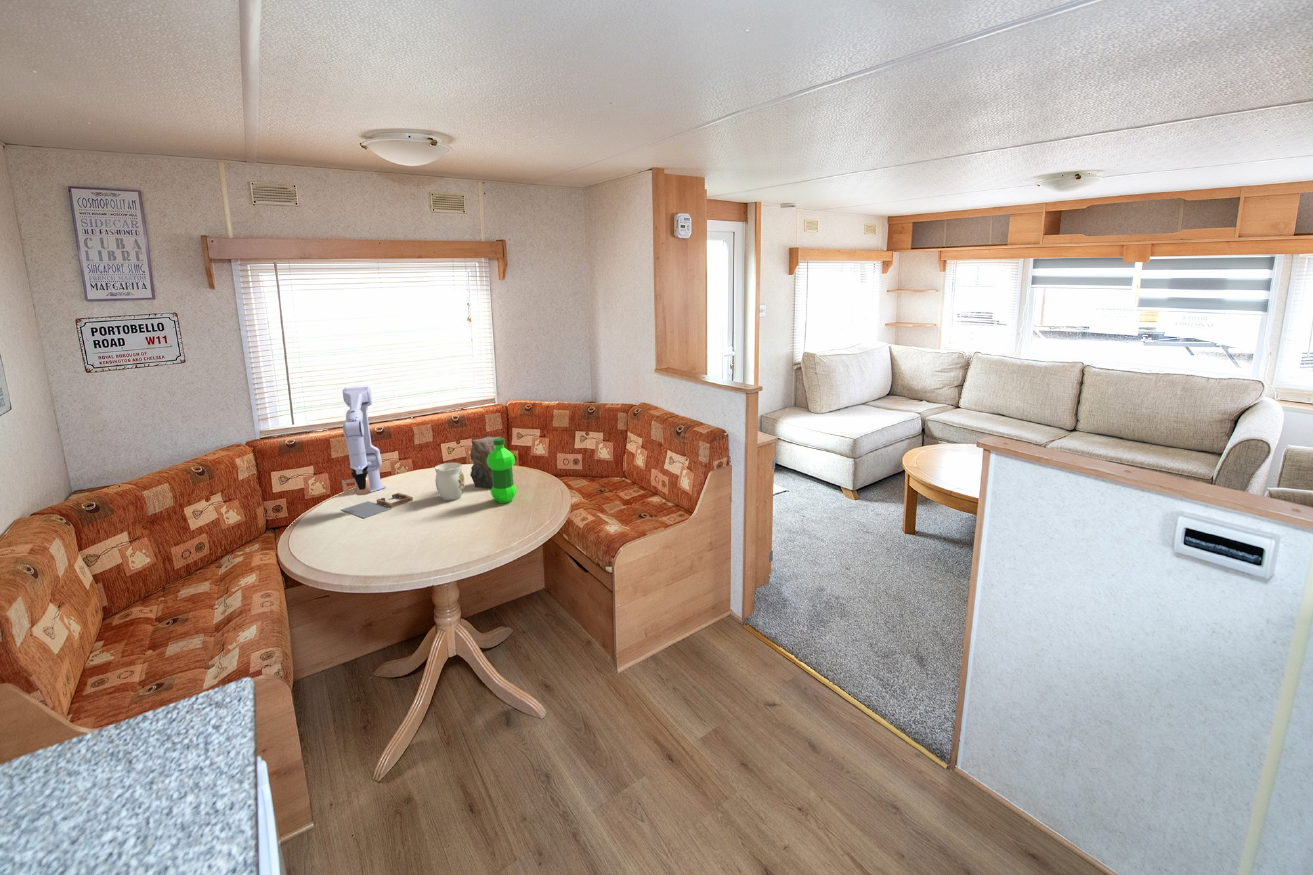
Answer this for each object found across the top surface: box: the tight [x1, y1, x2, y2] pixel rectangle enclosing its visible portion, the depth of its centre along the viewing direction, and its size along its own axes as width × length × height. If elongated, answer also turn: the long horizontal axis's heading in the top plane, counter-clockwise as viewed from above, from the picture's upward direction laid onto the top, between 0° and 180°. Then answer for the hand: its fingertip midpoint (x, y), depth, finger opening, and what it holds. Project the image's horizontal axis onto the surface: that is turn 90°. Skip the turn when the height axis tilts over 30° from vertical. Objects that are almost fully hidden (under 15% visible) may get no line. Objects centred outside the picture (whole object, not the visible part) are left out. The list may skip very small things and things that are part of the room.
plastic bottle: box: [487, 437, 518, 504], centre depth 239 cm, size 10×10×25 cm
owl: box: [469, 435, 502, 490], centre depth 260 cm, size 13×13×20 cm
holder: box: [376, 492, 414, 509], centre depth 244 cm, size 10×10×2 cm
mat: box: [341, 500, 391, 519], centre depth 236 cm, size 16×11×1 cm
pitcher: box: [434, 462, 466, 501], centre depth 246 cm, size 11×18×14 cm, turn 6°
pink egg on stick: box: [341, 474, 372, 496], centre depth 233 cm, size 9×5×7 cm, turn 115°
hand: (362, 487), depth 234 cm, fingers closed on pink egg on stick, 5 cm apart
